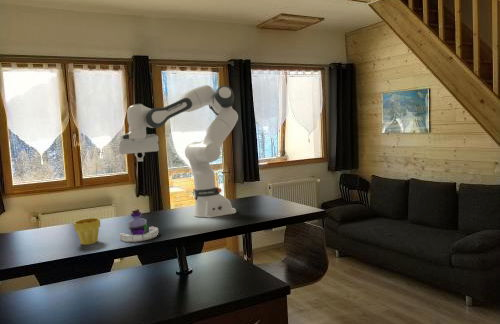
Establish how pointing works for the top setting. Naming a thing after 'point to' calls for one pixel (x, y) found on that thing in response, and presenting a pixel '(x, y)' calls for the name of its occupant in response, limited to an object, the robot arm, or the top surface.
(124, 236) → the white segmented arc
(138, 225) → the potion bottle
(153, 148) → the robot arm
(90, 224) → the plant pot
